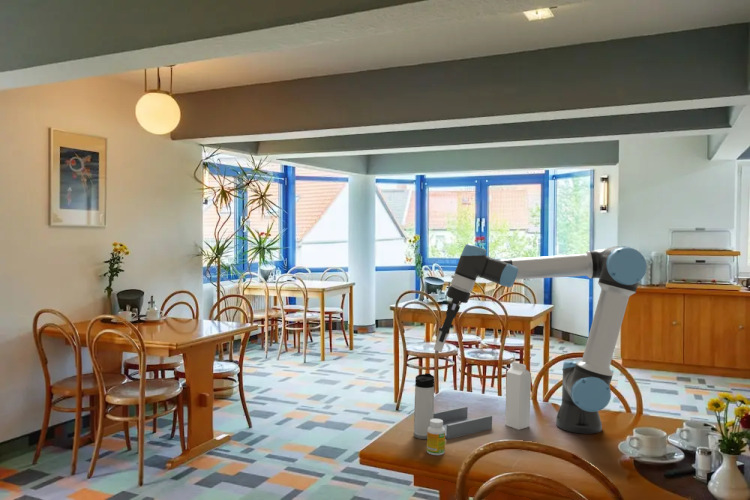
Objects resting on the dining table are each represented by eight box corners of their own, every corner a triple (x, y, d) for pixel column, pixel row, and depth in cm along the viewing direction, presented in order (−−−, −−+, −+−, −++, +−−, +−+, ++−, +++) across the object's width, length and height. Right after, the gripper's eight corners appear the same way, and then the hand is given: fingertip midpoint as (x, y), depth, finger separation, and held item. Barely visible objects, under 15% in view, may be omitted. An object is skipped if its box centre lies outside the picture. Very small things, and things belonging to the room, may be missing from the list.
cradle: (491, 428, 197) (492, 415, 197) (448, 439, 186) (448, 425, 186) (465, 418, 208) (465, 406, 208) (422, 427, 197) (423, 414, 196)
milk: (518, 430, 197) (520, 366, 196) (504, 425, 202) (506, 362, 201) (529, 426, 200) (531, 364, 200) (515, 421, 205) (517, 360, 205)
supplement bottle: (439, 457, 171) (440, 424, 170) (423, 453, 173) (424, 421, 173) (447, 451, 175) (448, 419, 175) (431, 447, 178) (432, 416, 178)
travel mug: (435, 434, 190) (437, 374, 190) (429, 440, 184) (430, 378, 184) (418, 431, 193) (419, 372, 192) (411, 437, 187) (412, 376, 186)
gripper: (451, 282, 207) (431, 336, 208) (448, 287, 182) (425, 349, 184) (471, 289, 206) (450, 344, 207) (470, 296, 181) (447, 358, 183)
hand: (438, 347), depth 195 cm, fingers open, 13 cm apart
